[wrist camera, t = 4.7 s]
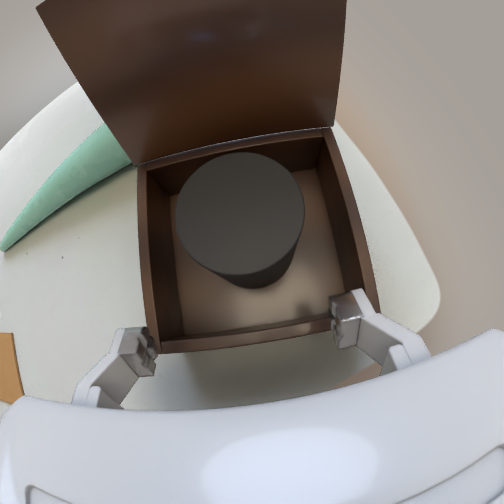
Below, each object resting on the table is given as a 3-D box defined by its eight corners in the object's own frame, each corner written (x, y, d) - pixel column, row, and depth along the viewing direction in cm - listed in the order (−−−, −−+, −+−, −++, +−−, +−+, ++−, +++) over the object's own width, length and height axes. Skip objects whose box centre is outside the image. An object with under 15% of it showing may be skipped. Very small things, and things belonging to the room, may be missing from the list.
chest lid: (347, -68, 4) (340, -68, 5) (34, 7, 5) (41, 3, 5) (333, 126, 17) (330, 119, 18) (134, 165, 18) (135, 157, 18)
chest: (356, 315, 21) (381, 317, 15) (180, 344, 22) (151, 354, 16) (320, 164, 24) (330, 126, 18) (164, 193, 24) (137, 164, 19)
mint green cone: (-24, 223, 21) (134, 88, 21) (3, 233, 26) (153, 120, 26) (-23, 260, 20) (145, 121, 20) (6, 267, 25) (166, 153, 25)
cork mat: (28, 408, 21) (26, 408, 21) (-5, 396, 22) (-7, 397, 21) (13, 333, 23) (10, 333, 23) (-17, 332, 24) (-19, 332, 23)
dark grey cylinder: (300, 281, 21) (318, 262, 12) (219, 295, 21) (180, 285, 13) (285, 203, 22) (289, 142, 14) (208, 217, 23) (170, 166, 14)
